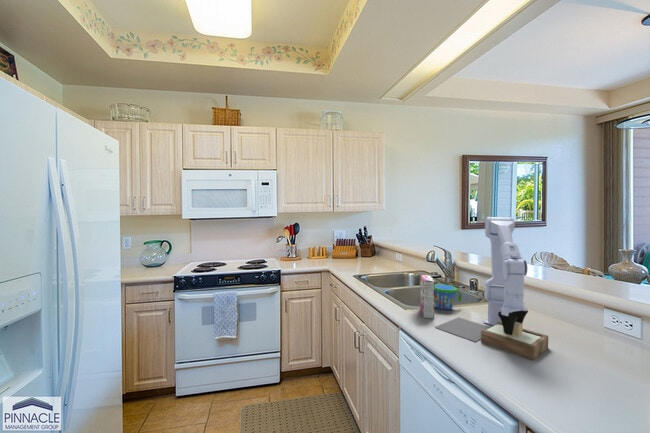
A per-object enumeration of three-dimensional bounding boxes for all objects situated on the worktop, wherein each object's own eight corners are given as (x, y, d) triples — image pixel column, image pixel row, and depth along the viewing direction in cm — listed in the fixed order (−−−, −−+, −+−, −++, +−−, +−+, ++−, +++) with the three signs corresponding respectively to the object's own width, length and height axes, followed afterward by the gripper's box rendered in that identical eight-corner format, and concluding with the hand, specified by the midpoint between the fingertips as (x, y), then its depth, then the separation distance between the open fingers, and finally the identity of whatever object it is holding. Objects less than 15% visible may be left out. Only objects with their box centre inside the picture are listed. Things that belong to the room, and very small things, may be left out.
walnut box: (498, 332, 115) (498, 321, 115) (548, 347, 103) (548, 335, 103) (480, 341, 107) (481, 330, 107) (532, 360, 94) (533, 347, 94)
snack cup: (458, 305, 147) (458, 284, 147) (464, 312, 137) (465, 290, 136) (424, 303, 150) (425, 283, 149) (428, 310, 139) (429, 288, 139)
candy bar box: (419, 309, 141) (420, 274, 140) (430, 310, 140) (431, 275, 139) (422, 318, 130) (423, 280, 129) (434, 319, 129) (435, 281, 128)
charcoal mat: (458, 317, 130) (458, 317, 130) (497, 330, 117) (497, 329, 117) (434, 327, 119) (434, 326, 119) (475, 342, 106) (475, 341, 106)
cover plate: (497, 326, 114) (497, 313, 114) (541, 339, 103) (541, 325, 103) (485, 332, 108) (485, 319, 108) (530, 347, 97) (530, 332, 96)
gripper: (518, 299, 97) (517, 341, 98) (534, 292, 106) (533, 330, 106) (495, 294, 103) (494, 333, 103) (512, 287, 112) (511, 324, 112)
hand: (512, 331), depth 105 cm, fingers open, 7 cm apart
